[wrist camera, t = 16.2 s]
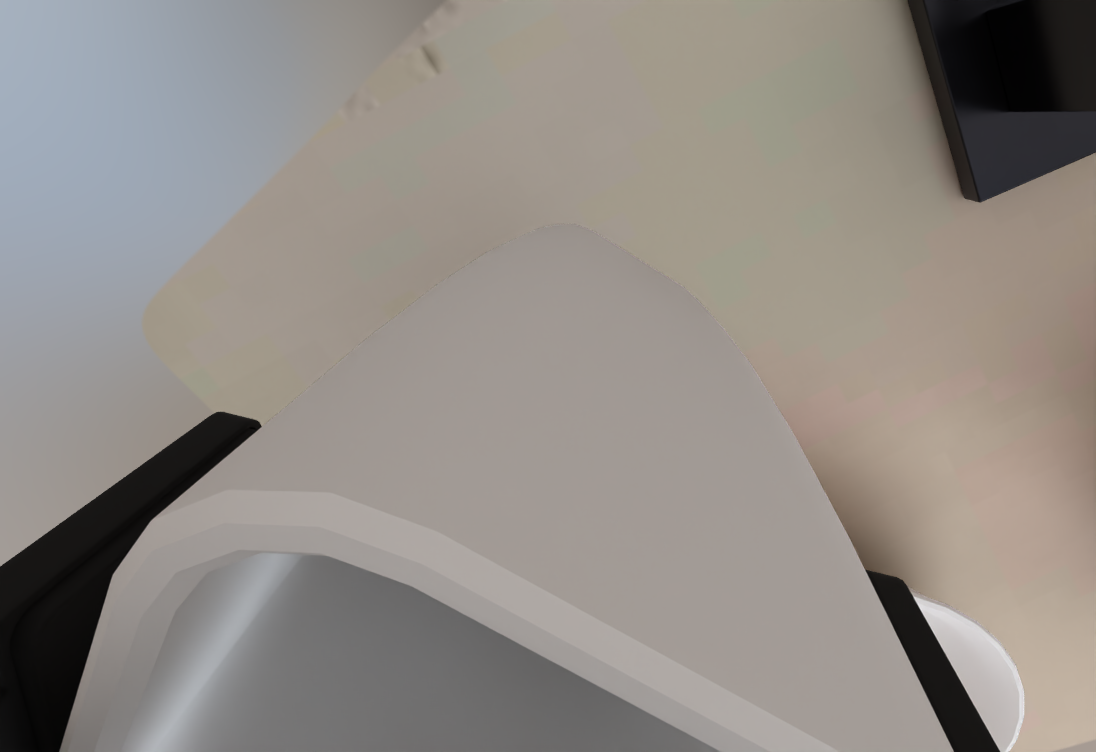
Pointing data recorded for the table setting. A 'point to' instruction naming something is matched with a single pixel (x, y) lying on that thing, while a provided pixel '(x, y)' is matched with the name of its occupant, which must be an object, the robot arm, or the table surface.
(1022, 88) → the bracket
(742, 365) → the cup
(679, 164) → the table surface
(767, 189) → the table surface
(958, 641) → the bowl
